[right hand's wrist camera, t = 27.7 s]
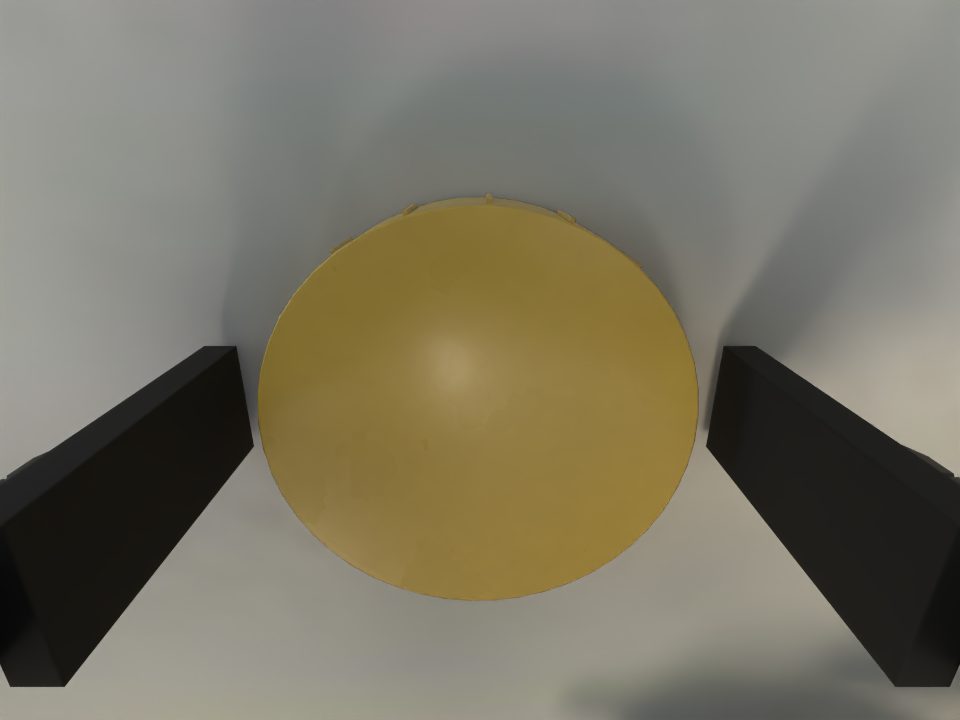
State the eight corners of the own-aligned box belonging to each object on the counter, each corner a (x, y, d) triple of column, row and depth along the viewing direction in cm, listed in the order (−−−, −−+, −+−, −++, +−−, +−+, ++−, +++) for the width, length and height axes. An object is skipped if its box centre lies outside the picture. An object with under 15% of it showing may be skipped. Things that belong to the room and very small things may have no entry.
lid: (305, 535, 15) (277, 597, 13) (274, 182, 11) (229, 187, 9) (633, 546, 15) (658, 609, 13) (697, 203, 12) (746, 212, 10)
